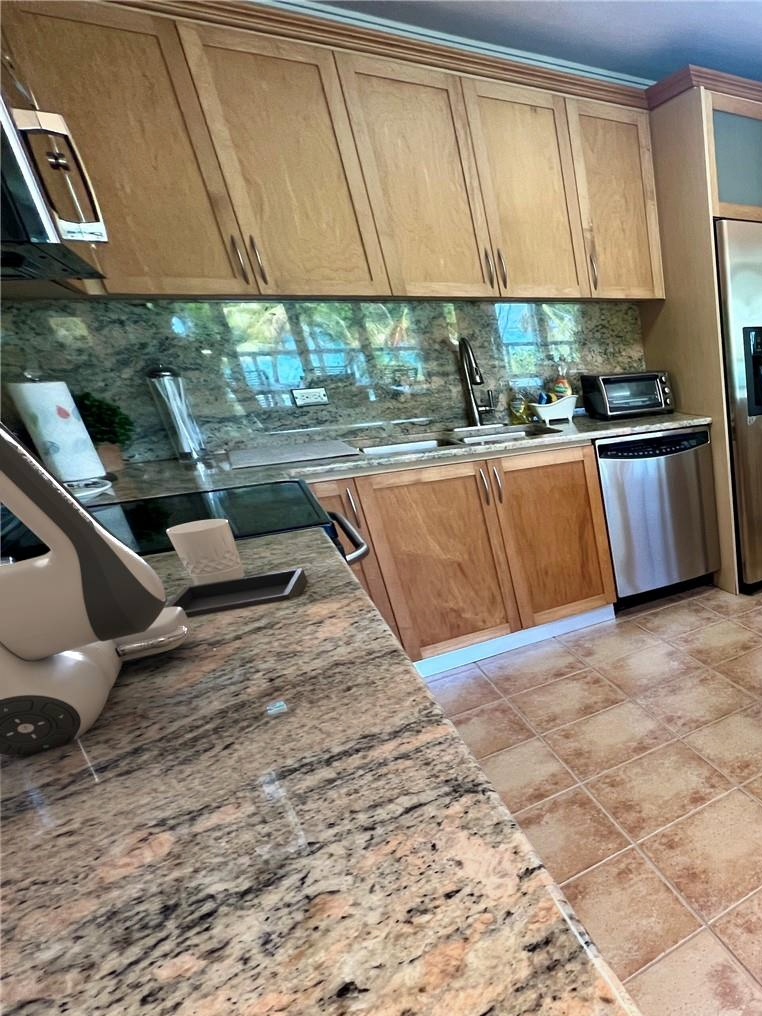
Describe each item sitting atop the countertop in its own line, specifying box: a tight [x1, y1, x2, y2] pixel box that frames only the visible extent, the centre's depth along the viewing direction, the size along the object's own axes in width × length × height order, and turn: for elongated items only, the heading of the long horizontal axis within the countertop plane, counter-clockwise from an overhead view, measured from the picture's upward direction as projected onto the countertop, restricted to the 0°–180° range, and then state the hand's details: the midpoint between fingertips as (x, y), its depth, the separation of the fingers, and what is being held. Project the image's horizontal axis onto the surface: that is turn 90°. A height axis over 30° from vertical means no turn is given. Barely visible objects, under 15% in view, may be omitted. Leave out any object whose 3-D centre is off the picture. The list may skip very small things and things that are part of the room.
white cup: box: [165, 518, 246, 585], centre depth 109 cm, size 8×8×10 cm
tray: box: [164, 567, 308, 618], centre depth 100 cm, size 16×14×2 cm
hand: (88, 626), depth 82 cm, fingers open, 8 cm apart
